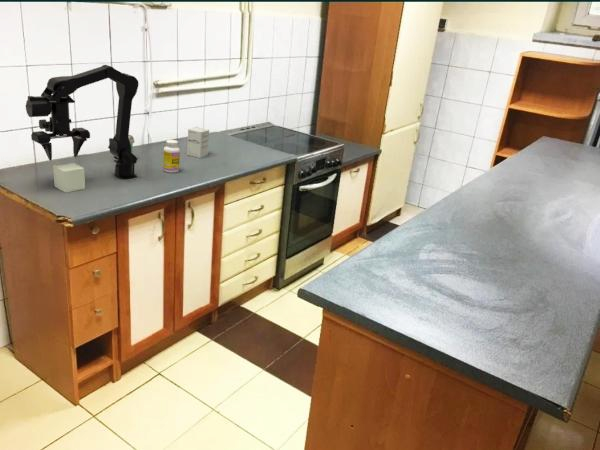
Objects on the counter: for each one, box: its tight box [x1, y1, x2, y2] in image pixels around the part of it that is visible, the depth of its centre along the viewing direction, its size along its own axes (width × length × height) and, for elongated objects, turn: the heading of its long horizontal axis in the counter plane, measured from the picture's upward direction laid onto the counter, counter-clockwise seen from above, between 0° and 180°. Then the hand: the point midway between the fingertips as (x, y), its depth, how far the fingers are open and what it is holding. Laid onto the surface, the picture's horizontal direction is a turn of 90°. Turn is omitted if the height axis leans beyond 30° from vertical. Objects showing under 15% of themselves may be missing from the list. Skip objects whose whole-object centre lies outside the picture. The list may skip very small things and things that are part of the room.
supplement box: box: [186, 126, 210, 159], centre depth 242 cm, size 7×7×13 cm
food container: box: [113, 134, 135, 163], centre depth 223 cm, size 12×6×10 cm, turn 168°
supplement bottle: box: [162, 139, 181, 174], centre depth 216 cm, size 7×7×13 cm
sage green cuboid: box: [52, 162, 86, 193], centre depth 186 cm, size 8×8×8 cm
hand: (62, 158), depth 185 cm, fingers open, 9 cm apart
